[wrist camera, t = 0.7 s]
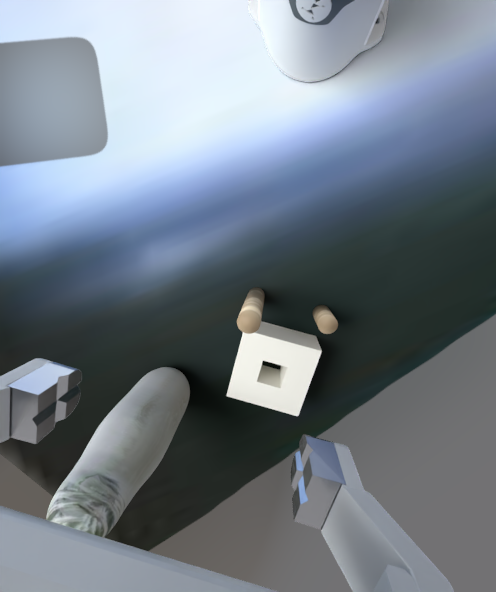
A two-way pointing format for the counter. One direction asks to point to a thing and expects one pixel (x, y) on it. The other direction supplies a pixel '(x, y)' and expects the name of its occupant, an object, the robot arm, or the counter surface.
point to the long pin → (251, 311)
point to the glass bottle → (122, 453)
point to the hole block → (269, 381)
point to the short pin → (325, 319)
